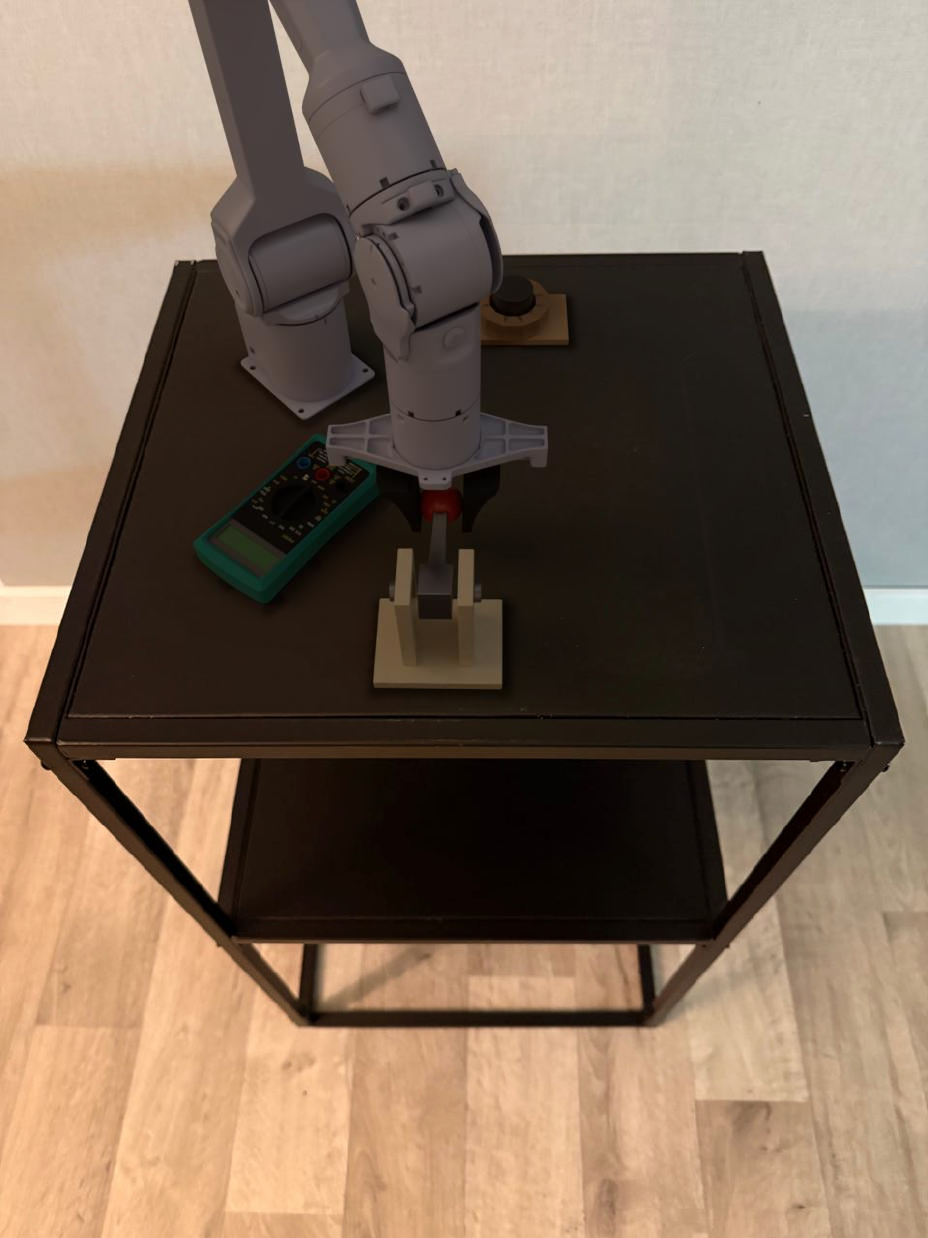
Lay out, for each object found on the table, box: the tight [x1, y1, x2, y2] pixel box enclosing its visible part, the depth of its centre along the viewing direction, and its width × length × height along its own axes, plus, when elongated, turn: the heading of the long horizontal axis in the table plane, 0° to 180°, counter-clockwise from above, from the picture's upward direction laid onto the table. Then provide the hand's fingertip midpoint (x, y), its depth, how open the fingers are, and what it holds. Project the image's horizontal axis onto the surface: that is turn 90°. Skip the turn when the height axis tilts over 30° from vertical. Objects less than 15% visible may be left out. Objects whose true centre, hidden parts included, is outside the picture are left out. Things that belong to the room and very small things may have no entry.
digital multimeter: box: [193, 432, 381, 605], centre depth 73 cm, size 7×15×3 cm, turn 143°
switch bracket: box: [372, 548, 503, 690], centre depth 64 cm, size 7×9×9 cm
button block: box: [481, 278, 570, 346], centre depth 85 cm, size 10×6×2 cm, turn 89°
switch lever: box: [417, 483, 463, 619], centre depth 65 cm, size 12×3×3 cm, turn 179°
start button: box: [492, 274, 534, 317], centre depth 83 cm, size 4×4×2 cm
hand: (441, 521), depth 70 cm, fingers closed on switch lever, 3 cm apart
